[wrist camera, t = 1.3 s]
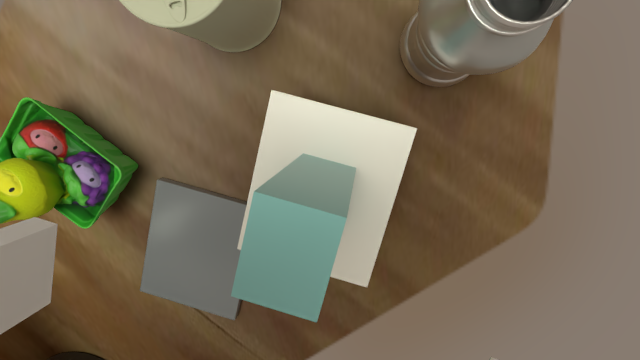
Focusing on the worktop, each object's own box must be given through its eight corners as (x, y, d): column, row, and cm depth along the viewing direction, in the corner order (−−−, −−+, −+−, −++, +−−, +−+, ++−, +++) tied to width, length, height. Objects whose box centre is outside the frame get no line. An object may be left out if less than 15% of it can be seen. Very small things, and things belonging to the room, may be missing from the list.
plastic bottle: (439, 103, 34) (536, 104, 14) (381, 56, 33) (399, -8, 14) (490, 43, 32) (677, -48, 13) (430, -6, 32) (525, -175, 13)
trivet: (237, 315, 41) (234, 320, 40) (145, 286, 42) (139, 290, 41) (262, 206, 38) (259, 208, 37) (162, 177, 39) (157, 179, 38)
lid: (367, 274, 31) (366, 415, 17) (246, 239, 31) (150, 345, 18) (413, 126, 28) (457, 149, 14) (278, 91, 28) (194, 79, 15)
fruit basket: (155, 163, 38) (71, 187, 28) (115, 224, 41) (21, 270, 30) (68, 94, 38) (-53, 90, 27) (31, 160, 40) (-95, 181, 29)
